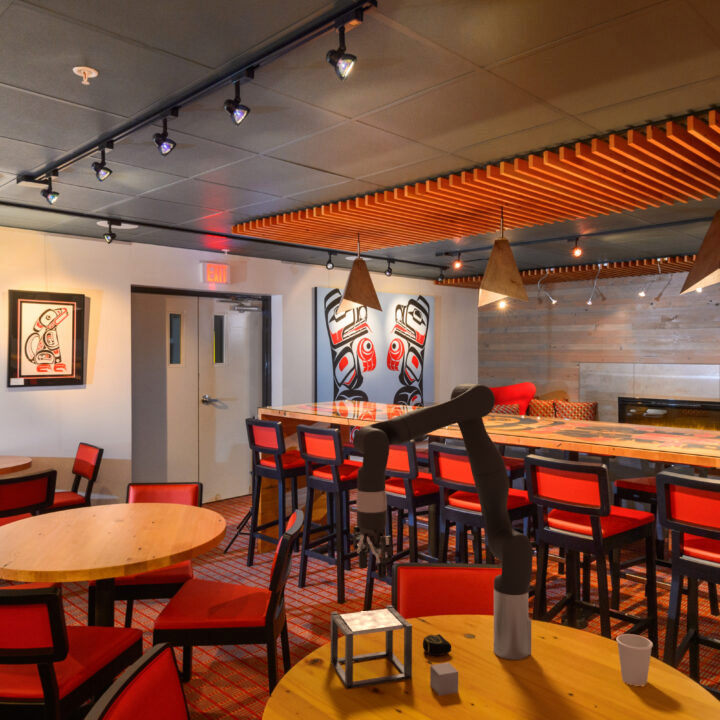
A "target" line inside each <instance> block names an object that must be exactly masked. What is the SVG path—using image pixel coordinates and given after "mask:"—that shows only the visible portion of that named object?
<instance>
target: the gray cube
mask: <svg viewBox="0 0 720 720" xmlns="http://www.w3.org/2000/svg"><path fill="white" fill-rule="evenodd" d="M429 667H430V670H429V671H430V672H429V673H430V674H429V676H430V682H429V683H430V687H431V688H432V690H433V691H434V692H435V693H436V694H437V695H438V696H440V697H441V696H445V695H450V694H456V693H459V670H457V669H456V668H455V667H454V666H453V665H452V663H450V662H444V663H437V664H430V665H429Z"/></svg>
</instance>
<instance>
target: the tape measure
mask: <svg viewBox="0 0 720 720" xmlns="http://www.w3.org/2000/svg"><path fill="white" fill-rule="evenodd" d="M422 648H423V650H424V651H425V653H427V654H428V655H432V656H443V655H445V654H448V653H451V651H452V645H451V643H450V642H449V641H448V640H447V639H446V638H444V636H442V635H441V634H439V633H438V634H428V635H426V636H425V637H424V638H423V641H422Z"/></svg>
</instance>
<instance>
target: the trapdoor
mask: <svg viewBox="0 0 720 720" xmlns="http://www.w3.org/2000/svg"><path fill="white" fill-rule="evenodd" d="M338 615H339V616H340V618H341V619H342V620H343V622H344V623H345V624H346V625H347V627H348V628H349V629H350V631H352V633H353V636H358V635H359V636H360V635H366V634H373V633H381V632H386V631H390V630H393V631H395V630H396V631H397V630H404V628H403V625H402V624H401V623H400V622H399V621H398V620H397V619H396V618H395V617H394V615H393V614H392V613H391V612H390V611H389V610H388V609H386V608H381V609H372V610H371V609H370V610H365V611H356V612H348V613H338Z"/></svg>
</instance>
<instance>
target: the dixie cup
mask: <svg viewBox="0 0 720 720" xmlns="http://www.w3.org/2000/svg"><path fill="white" fill-rule="evenodd" d="M616 642H617V649H618V656H619V665H620V674H621V680H622V679H623V680H622V682H623V683H625V682H626V683H628V684H627V685H629V684H631V685H636V686H637V685H638V686H642V685H645V684H646V683H647V684H648V676H649V671H650V670H649V669H650V663H651V655H652V648H653V647H654V644H653V642H652V641H651V640H650V639H648V638H646V637H645V636H642V635H638V634H631V633H621V634H619V635H617V637H616ZM626 683H625V684H626ZM647 684H646V685H647ZM631 685H630V686H631ZM646 685H645V686H646ZM636 686H635V687H636ZM642 687H643V686H642Z"/></svg>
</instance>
